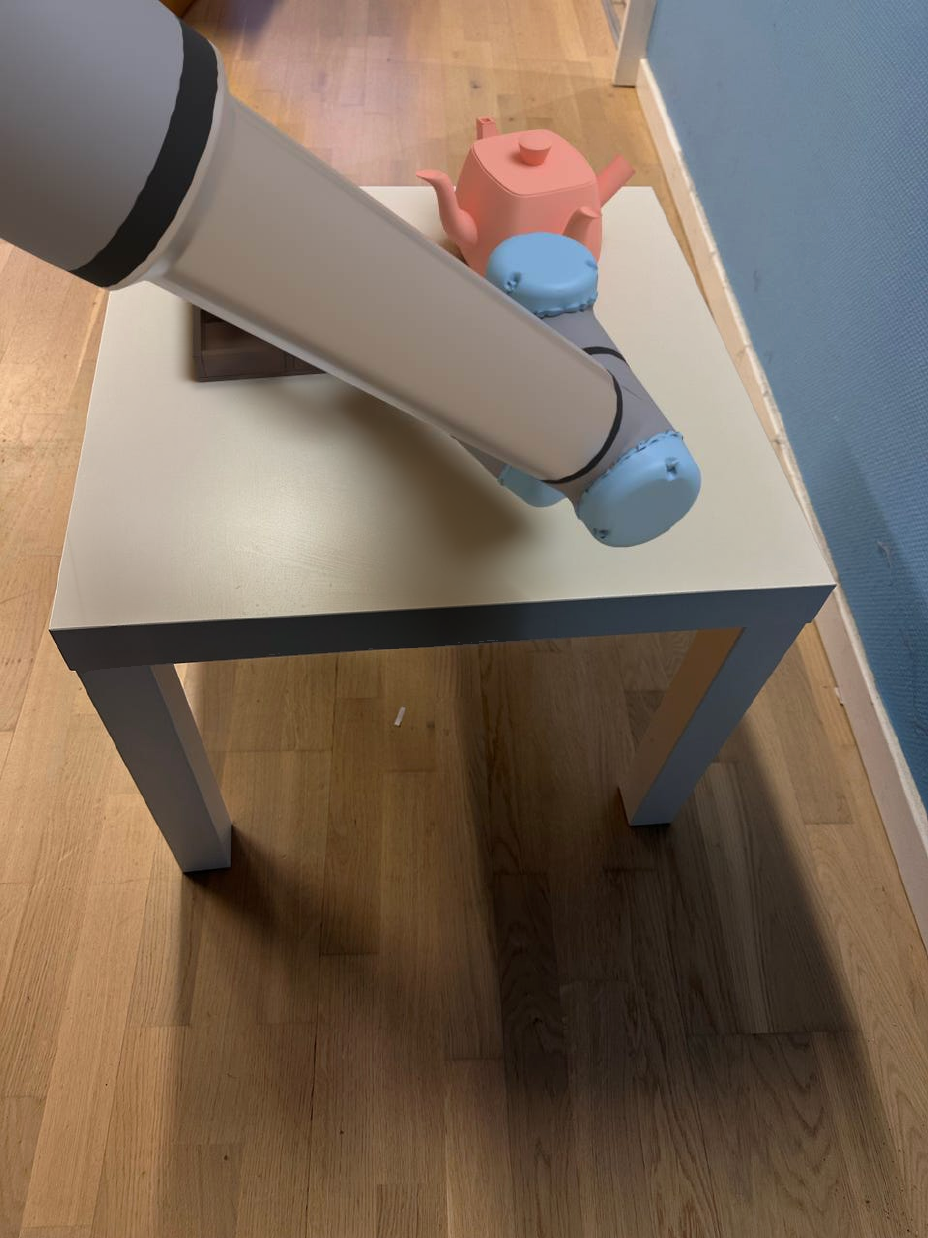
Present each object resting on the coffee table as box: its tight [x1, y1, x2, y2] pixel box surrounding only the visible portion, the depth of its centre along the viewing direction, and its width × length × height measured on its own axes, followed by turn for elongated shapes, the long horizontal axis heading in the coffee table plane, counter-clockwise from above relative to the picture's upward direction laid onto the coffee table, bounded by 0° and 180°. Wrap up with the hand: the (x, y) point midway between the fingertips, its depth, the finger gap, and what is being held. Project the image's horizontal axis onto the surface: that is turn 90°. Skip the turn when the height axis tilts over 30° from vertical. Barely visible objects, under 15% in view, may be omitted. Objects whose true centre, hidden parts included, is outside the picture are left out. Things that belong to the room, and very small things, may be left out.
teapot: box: [414, 115, 637, 279], centre depth 93 cm, size 18×18×14 cm
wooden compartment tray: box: [191, 303, 328, 383], centre depth 90 cm, size 17×17×3 cm
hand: (294, 240), depth 84 cm, fingers closed on perfume bottle, 8 cm apart
